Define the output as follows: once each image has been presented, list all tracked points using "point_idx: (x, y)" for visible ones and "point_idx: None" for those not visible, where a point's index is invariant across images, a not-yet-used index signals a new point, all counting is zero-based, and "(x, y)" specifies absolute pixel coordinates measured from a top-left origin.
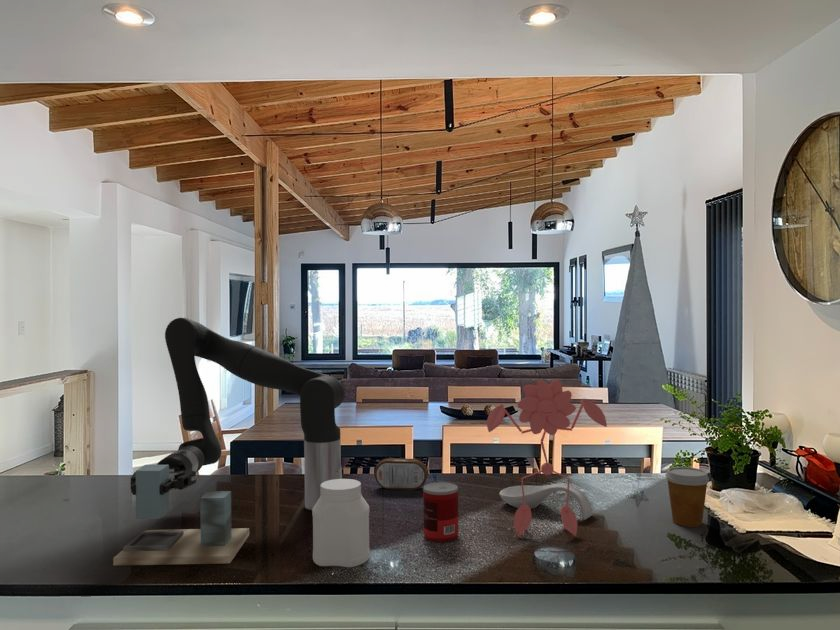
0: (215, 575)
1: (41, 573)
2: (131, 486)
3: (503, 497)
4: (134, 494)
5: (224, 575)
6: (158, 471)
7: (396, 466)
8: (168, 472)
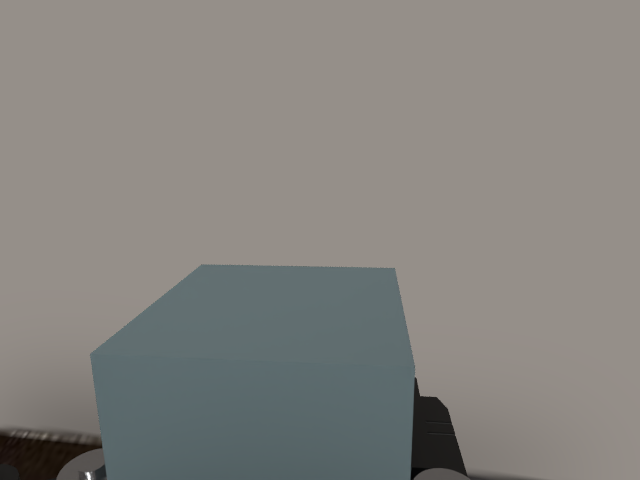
0: (53, 476)
1: None
2: (433, 400)
3: None
4: None
5: (28, 473)
6: (213, 271)
7: None
8: (111, 433)
